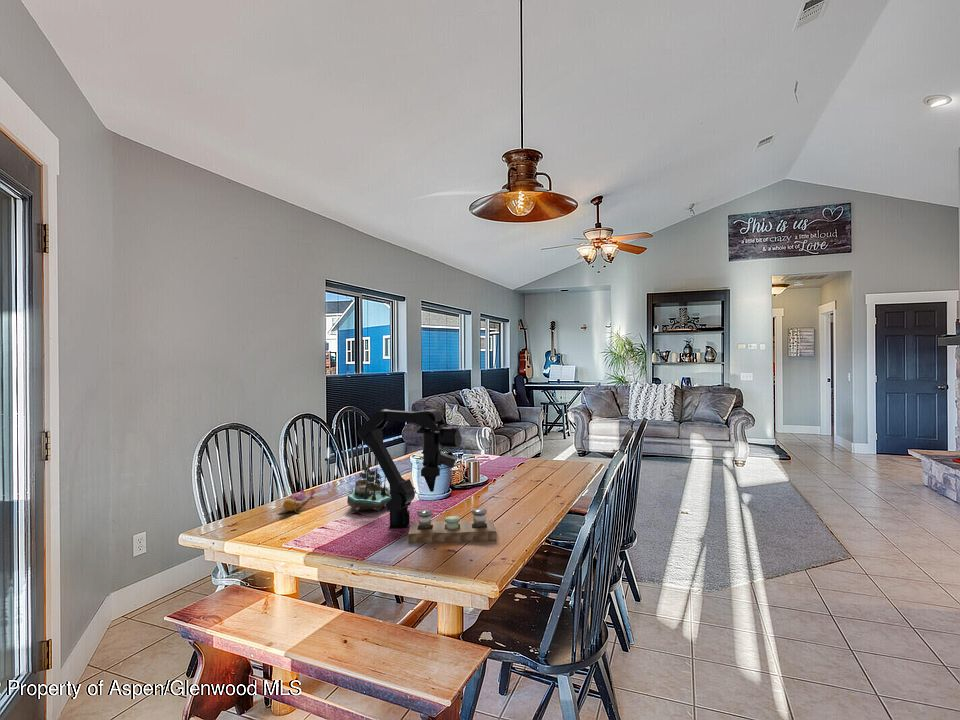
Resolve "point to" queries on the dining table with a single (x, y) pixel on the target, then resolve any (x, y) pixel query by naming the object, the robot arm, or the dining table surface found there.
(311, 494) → the figurine
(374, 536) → the dining table surface
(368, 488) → the diorama
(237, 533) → the dining table surface
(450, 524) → the sage plug
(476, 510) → the plunger
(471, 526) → the walnut board
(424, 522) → the plunger
